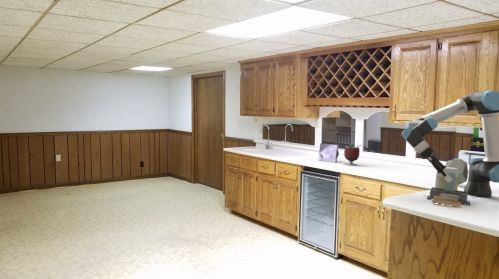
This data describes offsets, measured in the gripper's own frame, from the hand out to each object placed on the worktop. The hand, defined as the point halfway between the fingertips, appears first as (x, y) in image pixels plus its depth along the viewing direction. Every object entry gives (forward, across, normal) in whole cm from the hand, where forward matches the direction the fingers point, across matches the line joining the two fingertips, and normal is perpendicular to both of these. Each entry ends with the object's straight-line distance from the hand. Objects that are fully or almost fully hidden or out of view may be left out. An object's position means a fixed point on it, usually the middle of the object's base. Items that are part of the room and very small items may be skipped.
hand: (451, 179), depth 212 cm
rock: (+8, -71, -9) cm, 72 cm away
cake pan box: (-72, -127, -90) cm, 172 cm away
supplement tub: (+7, -18, -11) cm, 22 cm away
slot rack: (+8, 0, -9) cm, 12 cm away
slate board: (+8, 0, -9) cm, 12 cm away
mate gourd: (-54, -121, -72) cm, 151 cm away
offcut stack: (+8, +12, -9) cm, 17 cm away
